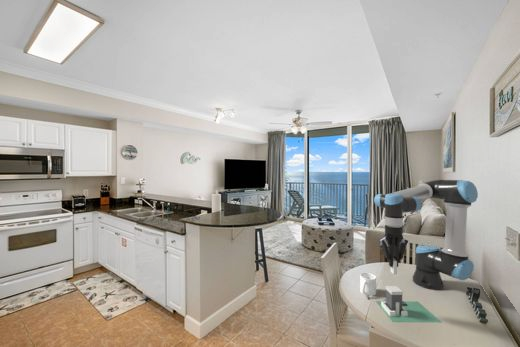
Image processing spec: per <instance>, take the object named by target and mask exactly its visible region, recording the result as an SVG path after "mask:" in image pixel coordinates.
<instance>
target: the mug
mask: <svg viewBox="0 0 520 347" xmlns="http://www.w3.org/2000/svg"><path fill="white" fill-rule="evenodd" d="M359 291H360V294H361V295H362V296H364V297H366V298H368V297H369V296H370V297H372V296H376V295H377V276H376V275H375V274H372V273H369V272H361V273H360V275H359Z"/></svg>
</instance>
